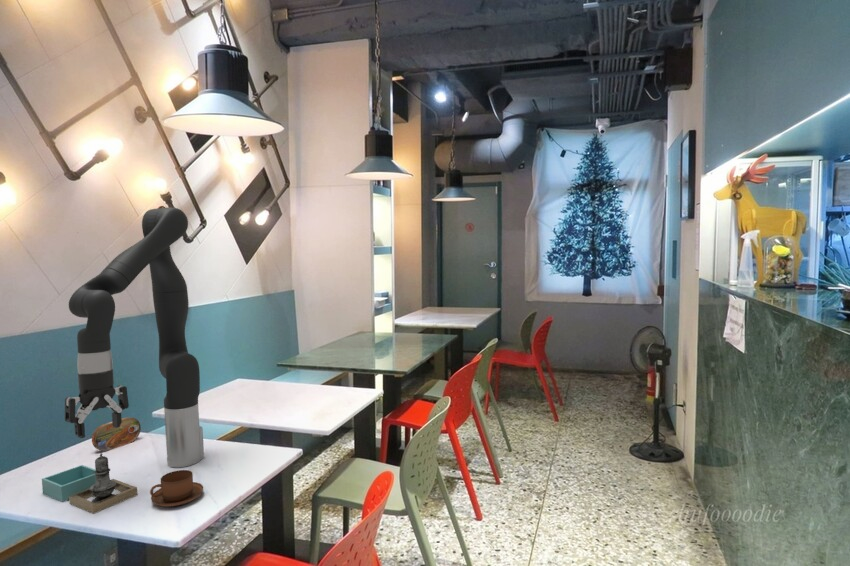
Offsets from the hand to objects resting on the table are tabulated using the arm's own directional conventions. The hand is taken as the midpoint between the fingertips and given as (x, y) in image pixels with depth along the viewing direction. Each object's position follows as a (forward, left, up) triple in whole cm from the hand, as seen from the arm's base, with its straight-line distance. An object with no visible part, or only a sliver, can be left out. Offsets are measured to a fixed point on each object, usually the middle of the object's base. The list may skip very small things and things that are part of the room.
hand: (99, 432), depth 134 cm
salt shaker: (0, 0, -18) cm, 18 cm away
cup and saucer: (-9, +17, -18) cm, 26 cm away
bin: (+1, -13, -18) cm, 22 cm away
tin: (-23, -35, -18) cm, 45 cm away
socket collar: (0, 0, -18) cm, 18 cm away
